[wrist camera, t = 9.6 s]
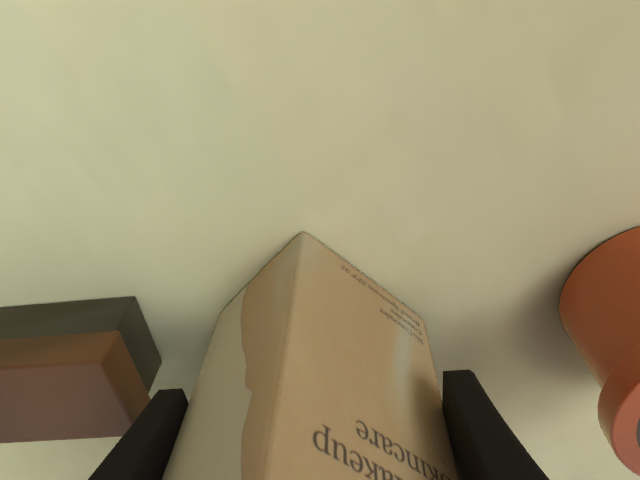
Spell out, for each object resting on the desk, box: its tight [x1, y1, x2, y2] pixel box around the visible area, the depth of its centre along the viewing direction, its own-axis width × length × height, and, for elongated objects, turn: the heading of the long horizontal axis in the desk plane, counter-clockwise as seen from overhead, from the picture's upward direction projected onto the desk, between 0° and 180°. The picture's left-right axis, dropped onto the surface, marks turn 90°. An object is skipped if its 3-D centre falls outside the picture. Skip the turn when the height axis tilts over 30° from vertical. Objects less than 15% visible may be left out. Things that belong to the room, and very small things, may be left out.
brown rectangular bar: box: [0, 297, 162, 443], centre depth 14 cm, size 8×3×3 cm, turn 97°
